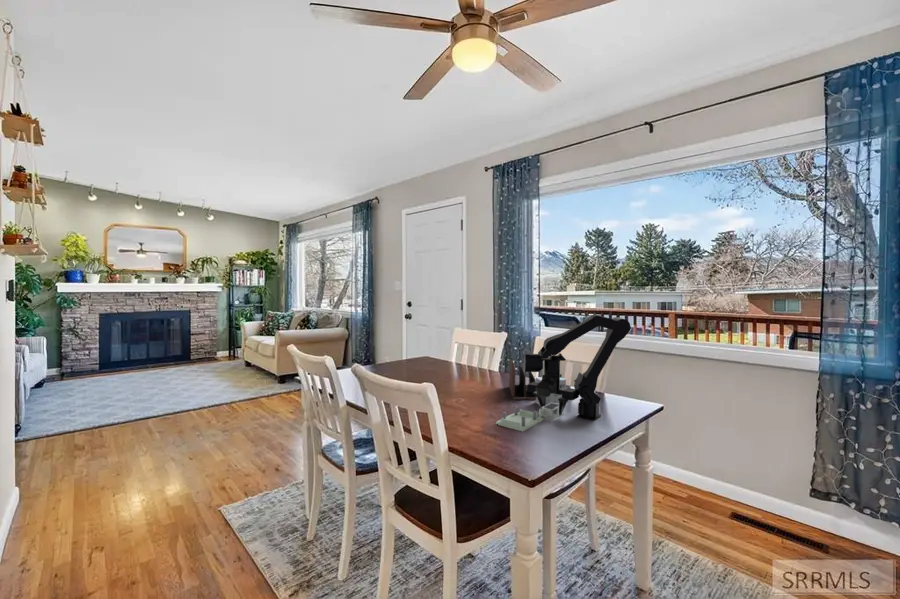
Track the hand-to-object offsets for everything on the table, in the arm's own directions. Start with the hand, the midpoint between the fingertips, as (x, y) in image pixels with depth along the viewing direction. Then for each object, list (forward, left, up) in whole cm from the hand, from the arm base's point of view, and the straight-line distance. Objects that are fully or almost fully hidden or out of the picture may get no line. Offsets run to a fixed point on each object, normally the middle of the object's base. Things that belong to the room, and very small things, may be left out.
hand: (551, 413), depth 156 cm
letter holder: (+24, -20, -2) cm, 31 cm away
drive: (0, 0, -1) cm, 1 cm away
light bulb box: (+7, -13, -1) cm, 15 cm away
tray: (+6, +13, -1) cm, 14 cm away
